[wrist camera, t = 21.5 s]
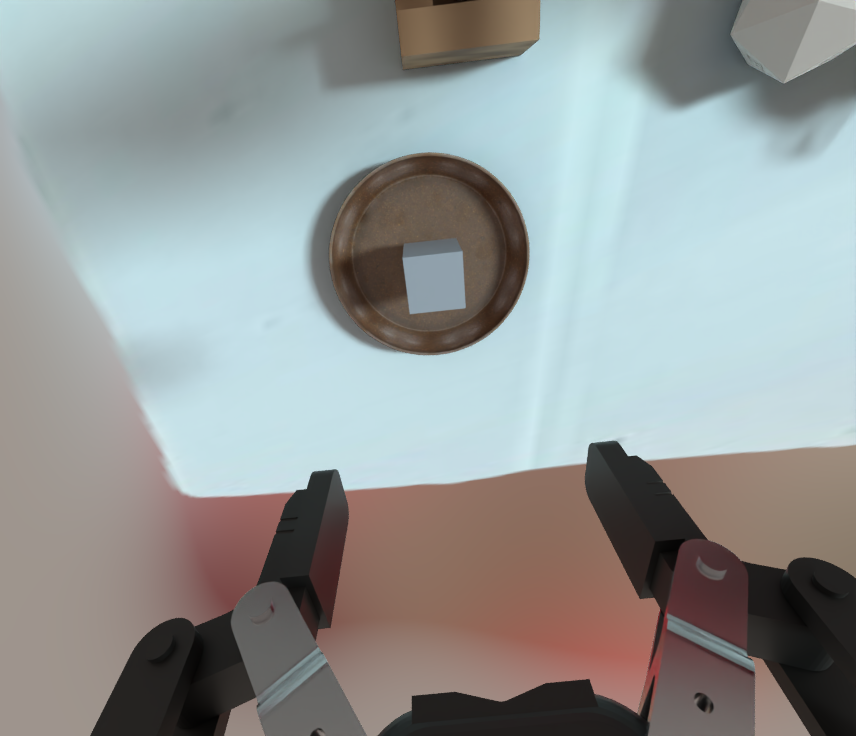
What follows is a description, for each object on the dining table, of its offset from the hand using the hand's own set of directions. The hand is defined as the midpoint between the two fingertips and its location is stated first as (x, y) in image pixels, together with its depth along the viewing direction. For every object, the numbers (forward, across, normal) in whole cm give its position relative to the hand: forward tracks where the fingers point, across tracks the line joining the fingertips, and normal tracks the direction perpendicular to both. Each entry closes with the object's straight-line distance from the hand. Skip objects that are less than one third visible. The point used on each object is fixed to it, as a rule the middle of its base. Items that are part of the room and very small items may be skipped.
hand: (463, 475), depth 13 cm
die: (+28, -27, -15) cm, 42 cm away
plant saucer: (+29, 0, 0) cm, 29 cm away
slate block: (+26, 0, 0) cm, 26 cm away
